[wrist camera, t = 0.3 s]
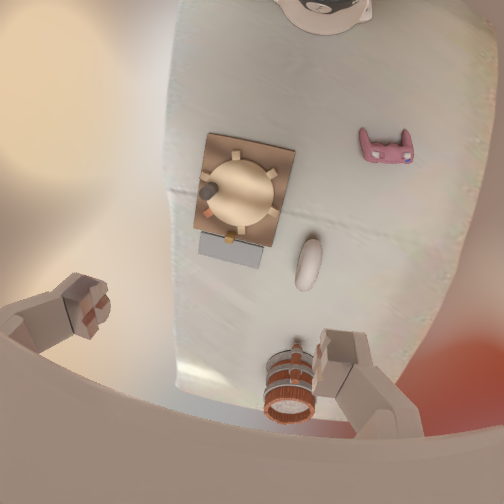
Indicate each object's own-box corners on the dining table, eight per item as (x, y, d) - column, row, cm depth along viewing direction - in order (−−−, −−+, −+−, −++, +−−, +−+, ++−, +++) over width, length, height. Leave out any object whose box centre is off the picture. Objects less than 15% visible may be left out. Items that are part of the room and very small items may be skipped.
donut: (306, 228, 57) (307, 251, 48) (323, 233, 56) (327, 256, 47) (293, 272, 61) (291, 299, 52) (309, 275, 61) (310, 304, 52)
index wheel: (207, 143, 50) (197, 146, 45) (291, 161, 50) (290, 166, 45) (195, 220, 57) (185, 231, 53) (271, 239, 57) (268, 251, 52)
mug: (265, 380, 78) (258, 423, 65) (269, 332, 69) (261, 379, 56) (314, 384, 76) (313, 428, 63) (326, 336, 68) (328, 384, 54)
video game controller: (357, 147, 49) (364, 169, 45) (357, 126, 46) (366, 146, 42) (405, 148, 48) (417, 170, 43) (408, 127, 44) (421, 148, 40)
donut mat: (201, 231, 60) (201, 232, 60) (263, 246, 60) (263, 248, 59) (199, 252, 62) (198, 253, 62) (258, 267, 62) (257, 269, 61)
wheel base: (209, 133, 51) (202, 134, 47) (295, 151, 50) (294, 154, 46) (195, 225, 60) (188, 233, 56) (271, 244, 59) (269, 254, 55)
